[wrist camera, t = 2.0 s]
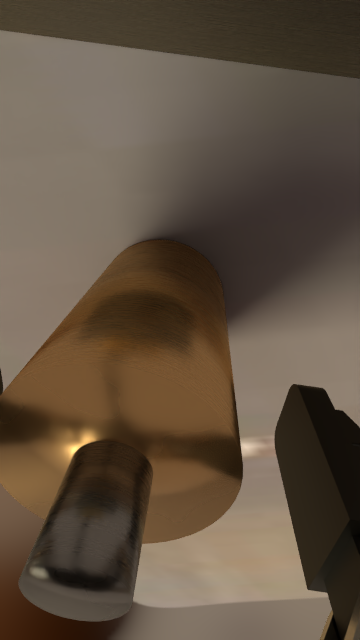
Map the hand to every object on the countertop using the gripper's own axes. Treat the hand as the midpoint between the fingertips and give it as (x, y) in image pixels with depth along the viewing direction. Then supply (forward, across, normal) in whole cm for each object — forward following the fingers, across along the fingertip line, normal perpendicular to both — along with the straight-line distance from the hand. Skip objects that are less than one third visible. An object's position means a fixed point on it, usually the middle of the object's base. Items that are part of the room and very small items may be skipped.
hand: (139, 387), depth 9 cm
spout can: (+5, 0, 0) cm, 5 cm away
